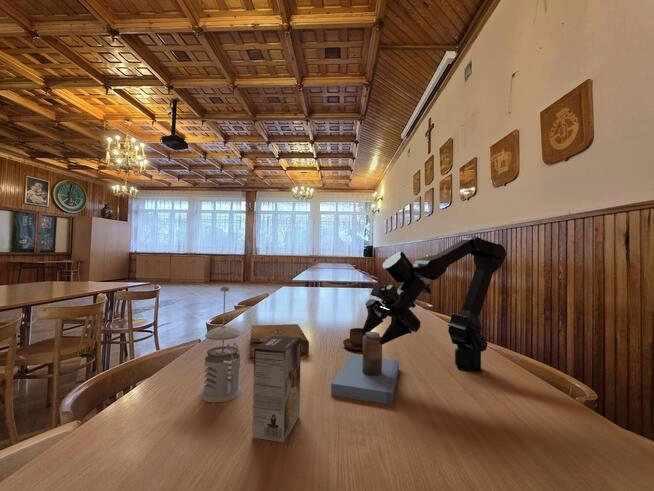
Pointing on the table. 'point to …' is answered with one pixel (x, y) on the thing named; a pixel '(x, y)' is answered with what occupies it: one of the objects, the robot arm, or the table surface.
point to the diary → (266, 331)
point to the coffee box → (276, 387)
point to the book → (366, 381)
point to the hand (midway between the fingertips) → (371, 338)
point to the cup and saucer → (355, 339)
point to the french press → (222, 365)
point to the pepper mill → (372, 354)
